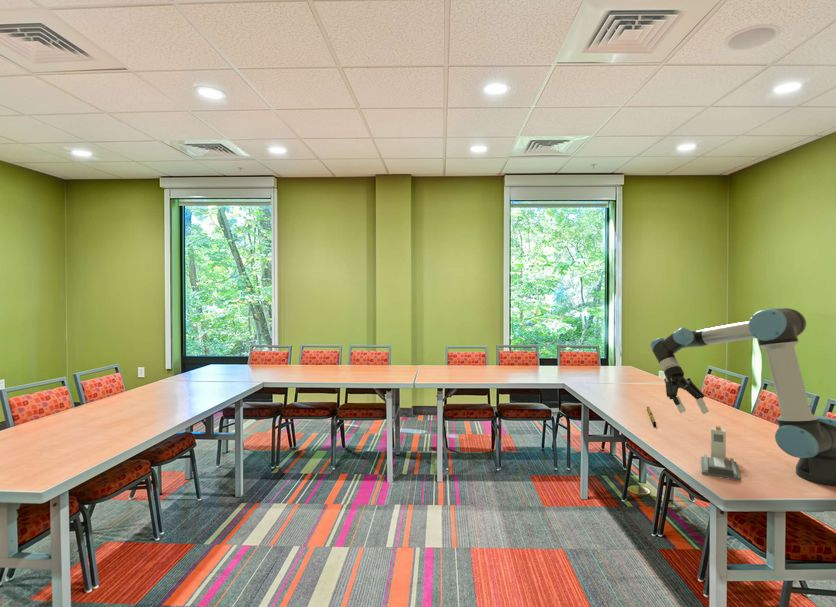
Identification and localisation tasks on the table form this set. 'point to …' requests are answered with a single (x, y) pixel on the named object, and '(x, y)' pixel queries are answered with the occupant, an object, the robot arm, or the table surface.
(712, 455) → the din module
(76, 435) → the table surface
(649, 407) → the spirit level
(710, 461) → the rail board
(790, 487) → the table surface
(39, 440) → the table surface
